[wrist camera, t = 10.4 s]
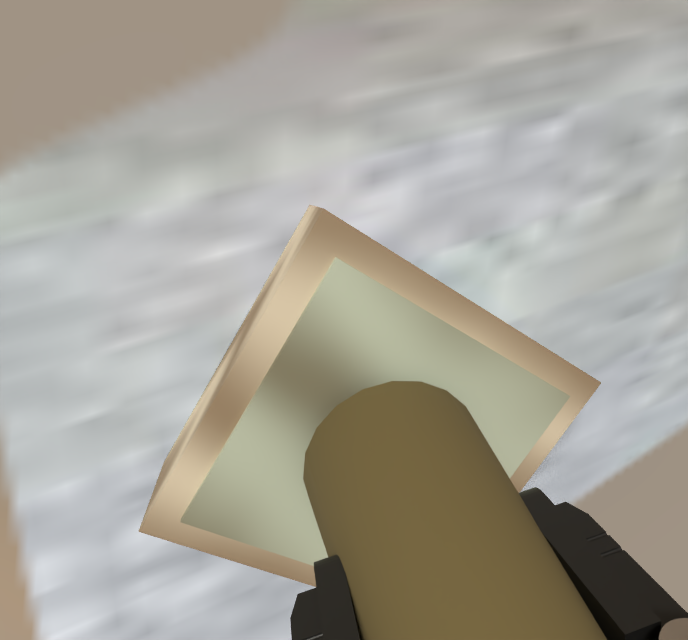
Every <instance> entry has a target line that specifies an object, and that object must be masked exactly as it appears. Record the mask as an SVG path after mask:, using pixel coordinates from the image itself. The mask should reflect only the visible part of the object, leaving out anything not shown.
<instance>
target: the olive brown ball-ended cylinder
mask: <svg viewBox="0 0 688 640" xmlns="http://www.w3.org/2000/svg"><path fill="white" fill-rule="evenodd" d="M303 480H304V484H305V487H306V490H307V494H308V497H309V500H310V503H311V506H312V509H313V512H314V515H315V519H316V522H317V525H318V528H319V531H320V534H321V537H322V540H323V543H324V546H325V549H326V552H327V555H328V557H330V556H333V555H338V556H339V558H340V560H341V562H342V565H343V568H344V570H345V573H346V577H347V581H348V585H349V590H350V594H351V598H352V602H353V607H354V611H355V615H356V619H357V623H358V628H359V632H360V636H361V640H607V638H606V637H605V635H604V633H603V632H602V630H601V629H600V627H599V625H598V624H597V622H596V620H595V619H594V617H593V615H592V614H591V612H590V610H589V609H588V607H587V605H586V604H585V602H584V600H583V599H582V597H581V596H580V594H579V592H578V591H577V589H576V587H575V586H574V584H573V582H572V581H571V579H570V577H569V576H568V574H567V572H566V571H565V569H564V567H563V566H562V564H561V562H560V561H559V559H558V558H557V556H556V554H555V553H554V551H553V549H552V548H551V546H550V544H549V543H548V541H547V539H546V538H545V536H544V535H543V534H542V532H541V531H540V529H539V527H538V526H537V524H536V522H535V520H534V519H533V517H532V515H531V513H530V512H529V510H528V508H527V507H526V505H525V503H524V501H523V500H522V498H521V496H520V495H519V493H518V491H517V490H516V488H515V487H514V485H513V483H512V482H511V480H510V478H509V477H508V475H507V473H506V472H505V470H504V468H503V467H502V465H501V463H500V462H499V460H498V458H497V457H496V455H495V453H494V452H493V450H492V449H491V447H490V445H489V444H488V442H487V440H486V439H485V437H484V435H483V434H482V432H481V430H480V429H479V427H478V425H477V424H476V422H475V420H474V419H473V417H472V415H471V414H470V412H469V411H468V409H467V407H466V406H465V405H464V404H463V403H461V402H460V401H459V400H458V399H457V398H455V397H454V396H453V395H452V394H451V393H449V392H448V391H447V390H444V389H441V388H439V387H436V386H433V385H430V384H427V383H424V382H421V381H390V382H387V383H383V384H380V385H376V386H373V387H369V388H365V389H362V390H361V391H359V392H358V393H356V394H354V395H353V396H351V397H349V398H348V399H346V400H345V401H343V402H341V403H340V404H338V405H337V406H336V407H335V408H334V409H333V410H332V411H331V412H330V413H329V414H328V416H327V417H326V418H325V419H324V420H323V421H322V422H321V423H320V424H319V426H318V427H317V428H316V430H315V432H314V435H313V437H312V439H311V441H310V443H309V446H308V448H307V450H306V452H305V461H304V473H303Z"/></svg>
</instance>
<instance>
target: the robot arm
mask: <svg viewBox="0 0 688 640" xmlns="http://www.w3.org/2000/svg"><path fill="white" fill-rule="evenodd" d="M519 495H520V496H521V498H522V500H523V501H524V503H525V505H526V507H527V508H528V510H529V512H530V513H531V515H532V517H533V519H534V520H535V522H536V524H537V526H538V527H539V529H540V531H541V532H542V534H543V535H544V536H545V538H546V539H547V541H548V543H549V544H550V546H551V548H552V549H553V551H554V553H555V554H556V556H557V558H558V559H559V561H560V562H561V564H562V566H563V567H564V569H565V571H566V572H567V574H568V576H569V577H570V579H571V581H572V582H573V584H574V586H575V587H576V589H577V591H578V592H579V594H580V596H581V597H582V599H583V600H584V602H585V604H586V605H587V607H588V609H589V610H590V612H591V614H592V615H593V617H594V619H595V620H596V622H597V624H598V625H599V627H600V629H601V630H602V632H603V633H604V635H605V637H606V638H607V640H688V613H687V612H686V611H685V610H684V609H683V608H681V606H680V605H678V603H677V602H676V601H675V600H674V599H673V598H672V597H671V596H670V595H669V594H668V593H667V592H666V591H665V590H664V589H663V588H662V587H661V586H660V585H659V584H658V583H657V582H656V581H655V580H654V579H653V578H651V576H650V575H649V574H648V573H646V571H645V570H644V569H643V568H642V567H641V566H640V565H638V563H637V562H636V561H635V560H634V559H633V558H632V557H631V556H630V555H628V553H627V552H626V551H624V550H622V549H621V547H620V545H618V543H617V542H616V541H614V539H612V537H611V536H610V535H607V534H606V531H605V530H604V529H603V528H601V526H600V525H598V523H596V522H595V520H594V519H593V518H592V517H590V516H589V514H587V513H585V512H583V511H582V510H580V509H578V508H576V507H574V506H573V505H571V504H569V503H567V502H563V503H561V504H558V505H554V504H553V503H552V502H551V501H550V499H549V498H548V497H547V496H546V495H545V494H544V493H543V492H542V491H541V490H540V489H538V488H536V487H535V488H532V489H529V490H526V491H523V492H520V493H519ZM314 573H315V581H316V588H314V589H311V590H308V591H305V592H302V593H300V594H298V595H297V598H296V602H295V605H294V608H293V612H292V615H291V634H292V640H361V636H360V632H359V628H358V623H357V619H356V615H355V611H354V607H353V602H352V598H351V594H350V590H349V585H348V581H347V577H346V573H345V570H344V568H343V565H342V562H341V560H340V558H339V556H338V555H333V556H330V557H328V558H325V559H322V560H319V561H316V562H314Z"/></svg>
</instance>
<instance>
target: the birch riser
mask: <svg viewBox="0 0 688 640" xmlns="http://www.w3.org/2000/svg"><path fill="white" fill-rule="evenodd" d="M390 381H421V382H424V383H427V384H430V385H433V386H436V387H439V388H441V389H444V390H447V391H448V392H449V393H451V394H452V395H453V396H454V397H455V398H457V399H458V400H459V401H460V402H461V403H463V404H464V405H465V406H466V407H467V409H468V411H469V412H470V414H471V415H472V417H473V419H474V420H475V422H476V424H477V425H478V427H479V429H480V430H481V432H482V434H483V435H484V437H485V439H486V440H487V442H488V444H489V445H490V447H491V449H492V450H493V452H494V453H495V455H496V457H497V458H498V460H499V462H500V463H501V465H502V467H503V468H504V470H505V472H506V473H507V475H508V477H509V478H510V480H511V482H512V483H513V485H514V487H515V488H516V490H517V491H518V493H519V492H520V491H521V490H522V488H523V487H524V486H525V484H526V483H527V482H528V480H529V479H530V478H531V476H532V475H533V474H534V472H535V471H536V470H537V468H538V467H539V466H540V464H541V463H542V462H543V460H544V459H545V458H546V456H547V455H548V454H549V452H550V451H551V450H552V448H553V447H554V445H555V444H556V443H557V441H558V440H559V439H560V437H561V436H562V435H563V433H564V432H565V431H566V429H567V428H568V427H569V425H570V424H571V423H572V421H573V420H574V419H575V417H576V416H577V415H578V413H579V412H580V411H581V409H582V408H583V407H584V405H585V404H586V403H587V401H588V400H589V399H590V397H591V396H592V395H593V393H594V392H595V391H596V389H597V388H598V386H599V385H600V384H601V382H599V381H598V380H596V379H595V378H593V377H591V376H590V375H588V374H587V373H585V372H583V371H582V370H580V369H579V368H577V367H575V366H574V365H572V364H571V363H569V362H567V361H566V360H564V359H563V358H561V357H559V356H558V355H556V354H555V353H553V352H551V351H550V350H548V349H547V348H545V347H544V346H542V345H540V344H539V343H537V342H536V341H534V340H532V339H531V338H529V337H528V336H526V335H524V334H523V333H521V332H520V331H518V330H516V329H515V328H513V327H512V326H510V325H508V324H507V323H505V322H504V321H502V320H500V319H499V318H497V317H496V316H494V315H492V314H491V313H489V312H488V311H486V310H485V309H483V308H481V307H480V306H478V305H477V304H475V303H473V302H472V301H470V300H469V299H467V298H465V297H464V296H462V295H461V294H459V293H457V292H456V291H454V290H453V289H451V288H449V287H448V286H446V285H445V284H443V283H441V282H440V281H438V280H437V279H435V278H433V277H432V276H430V275H429V274H427V273H426V272H424V271H422V270H421V269H419V268H418V267H416V266H414V265H413V264H411V263H410V262H408V261H406V260H405V259H403V258H402V257H400V256H398V255H397V254H395V253H394V252H392V251H390V250H389V249H387V248H386V247H384V246H382V245H381V244H379V243H378V242H376V241H374V240H373V239H371V238H370V237H368V236H366V235H365V234H363V233H362V232H360V231H359V230H357V229H355V228H354V227H352V226H351V225H349V224H347V223H346V222H344V221H343V220H341V219H339V218H338V217H336V216H335V215H333V214H331V213H330V212H328V211H327V210H325V209H323V208H320V207H316V206H313V205H309V207H308V209H307V211H306V212H305V214H304V216H303V218H302V219H301V221H300V223H299V225H298V227H297V228H296V230H295V232H294V234H293V235H292V237H291V239H290V241H289V242H288V244H287V246H286V248H285V249H284V251H283V253H282V255H281V257H280V258H279V260H278V262H277V264H276V265H275V267H274V269H273V271H272V272H271V274H270V276H269V278H268V279H267V281H266V283H265V285H264V287H263V288H262V290H261V292H260V294H259V295H258V297H257V299H256V301H255V302H254V304H253V306H252V308H251V309H250V311H249V313H248V315H247V317H246V318H245V320H244V322H243V324H242V325H241V327H240V329H239V331H238V332H237V334H236V336H235V338H234V339H233V341H232V343H231V345H230V347H229V348H228V350H227V352H226V354H225V355H224V357H223V359H222V361H221V362H220V364H219V366H218V368H217V369H216V371H215V373H214V375H213V377H212V378H211V380H210V382H209V384H208V385H207V387H206V389H205V391H204V392H203V394H202V396H201V398H200V399H199V401H198V403H197V405H196V407H195V408H194V410H193V412H192V414H191V415H190V417H189V419H188V421H187V422H186V424H185V426H184V428H183V430H182V431H181V433H180V435H179V437H178V438H177V440H176V442H175V444H174V445H173V447H172V449H171V451H170V452H169V454H168V456H167V458H166V460H165V461H164V464H163V466H162V469H161V472H160V475H159V477H158V480H157V483H156V485H155V488H154V491H153V494H152V496H151V499H150V502H149V505H148V507H147V510H146V513H145V515H144V518H143V521H142V524H141V526H140V529H139V532H142V533H145V534H148V535H151V536H154V537H158V538H161V539H164V540H167V541H170V542H174V543H177V544H180V545H183V546H187V547H190V548H193V549H196V550H199V551H203V552H206V553H209V554H212V555H215V556H219V557H222V558H225V559H228V560H231V561H235V562H238V563H241V564H244V565H248V566H251V567H254V568H257V569H260V570H264V571H267V572H270V573H273V574H276V575H280V576H283V577H286V578H289V579H292V580H296V581H299V582H302V583H305V584H308V585H312V586H315V587H316V581H315V573H314V562H316V561H319V560H322V559H325V558H328V555H327V552H326V549H325V546H324V543H323V540H322V537H321V534H320V531H319V528H318V525H317V522H316V519H315V515H314V512H313V509H312V506H311V503H310V500H309V497H308V494H307V490H306V487H305V484H304V480H303V473H304V461H305V452H306V450H307V448H308V446H309V443H310V441H311V439H312V437H313V435H314V432H315V430H316V428H317V427H318V426H319V424H320V423H321V422H322V421H323V420H324V419H325V418H326V417H327V416H328V414H329V413H330V412H331V411H332V410H333V409H334V408H335V407H336V406H337V405H338V404H340V403H341V402H343V401H345V400H346V399H348V398H349V397H351V396H353V395H354V394H356V393H358V392H359V391H361V390H362V389H365V388H369V387H373V386H376V385H380V384H383V383H387V382H390Z"/></svg>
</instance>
